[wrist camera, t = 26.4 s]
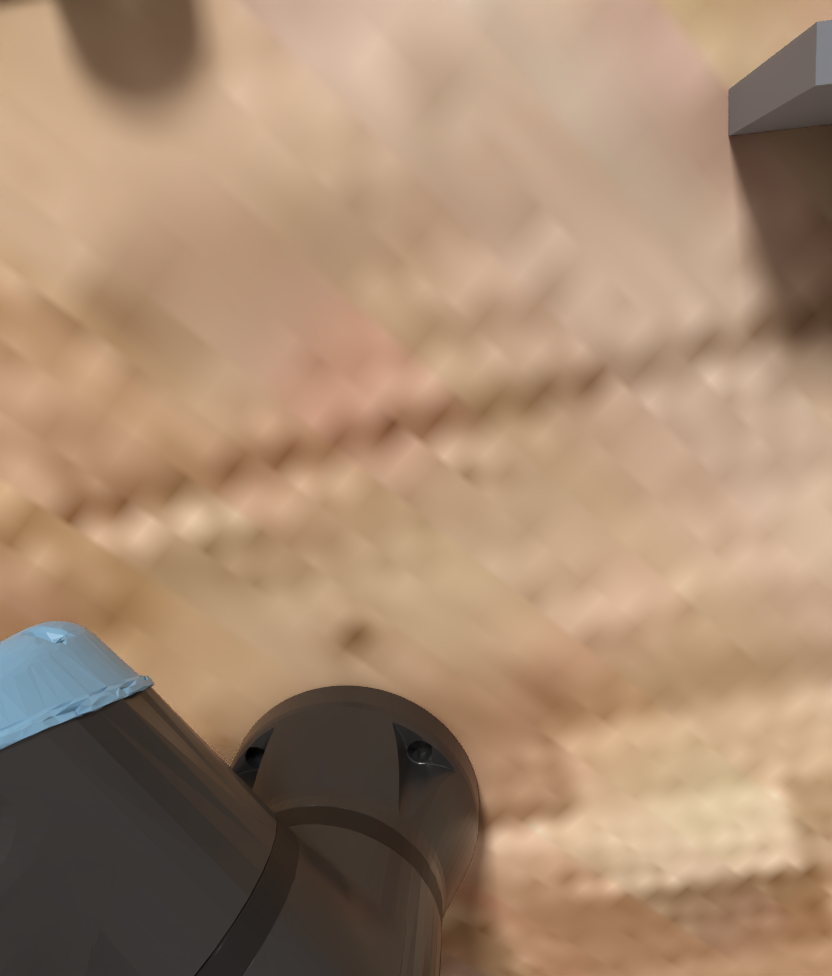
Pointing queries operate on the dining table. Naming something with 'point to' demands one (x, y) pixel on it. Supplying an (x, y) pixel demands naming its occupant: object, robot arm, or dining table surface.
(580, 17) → the dining table surface
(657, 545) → the dining table surface
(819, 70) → the wall
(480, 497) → the dining table surface
